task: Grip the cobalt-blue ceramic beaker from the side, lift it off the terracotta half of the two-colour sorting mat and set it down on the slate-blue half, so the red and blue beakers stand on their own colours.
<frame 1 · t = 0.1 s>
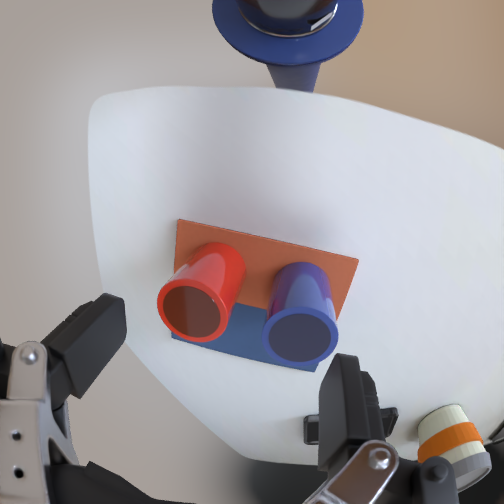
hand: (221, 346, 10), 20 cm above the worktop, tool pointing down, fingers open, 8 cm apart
sorting mat: (253, 304, 32), on the worktop
phone: (349, 425, 38), on the worktop
red beaker: (217, 269, 30), resting on sorting mat
blue beaker: (301, 288, 30), resting on sorting mat
reusable coffee cup: (439, 419, 36), on the worktop
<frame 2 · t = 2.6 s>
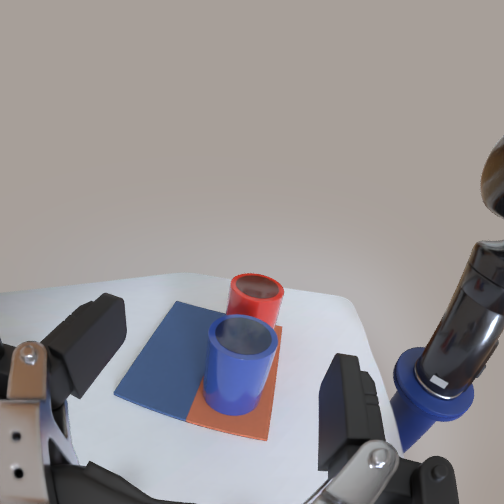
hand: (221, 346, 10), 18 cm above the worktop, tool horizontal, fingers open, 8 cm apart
sorting mat: (210, 360, 32), on the worktop
red beaker: (245, 341, 36), resting on sorting mat
blue beaker: (231, 392, 28), resting on sorting mat
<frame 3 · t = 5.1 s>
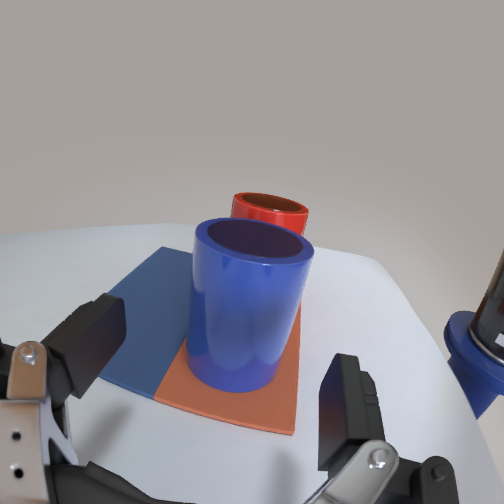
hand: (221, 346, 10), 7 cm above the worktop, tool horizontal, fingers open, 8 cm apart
sorting mat: (201, 312, 23), on the worktop
red beaker: (253, 292, 26), resting on sorting mat
blue beaker: (232, 357, 18), resting on sorting mat
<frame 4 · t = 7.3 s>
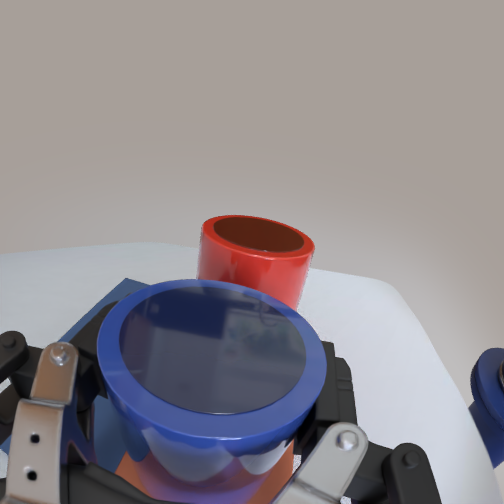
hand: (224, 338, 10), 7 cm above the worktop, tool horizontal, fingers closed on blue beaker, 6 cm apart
sorting mat: (163, 385, 15), on the worktop
red beaker: (236, 349, 19), resting on sorting mat
blue beaker: (199, 462, 11), resting on sorting mat, touching gripper
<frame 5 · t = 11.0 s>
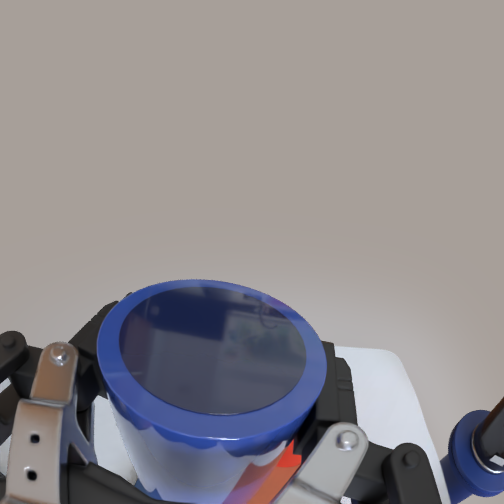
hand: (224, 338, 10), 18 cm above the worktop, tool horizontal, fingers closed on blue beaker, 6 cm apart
sorting mat: (238, 474, 19), on the worktop
red beaker: (283, 441, 23), resting on sorting mat
blue beaker: (199, 462, 11), point 12 cm above the worktop, touching gripper
when the fingers open (7 cm above the worktop, at t = 14.8 s): blue beaker stays where it is, resting on sorting mat.
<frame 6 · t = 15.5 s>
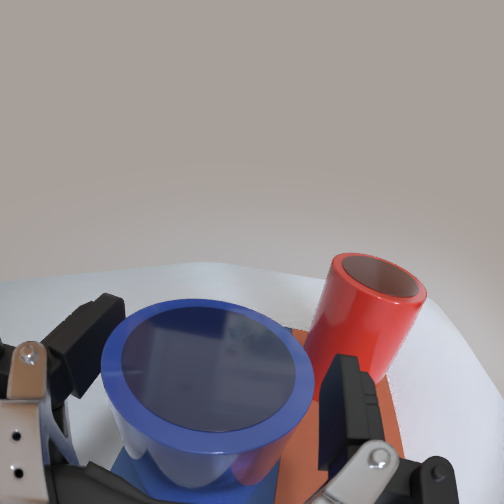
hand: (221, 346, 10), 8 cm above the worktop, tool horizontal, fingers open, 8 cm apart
sorting mat: (282, 421, 15), on the worktop
red beaker: (335, 376, 19), resting on sorting mat
blue beaker: (197, 467, 11), resting on sorting mat
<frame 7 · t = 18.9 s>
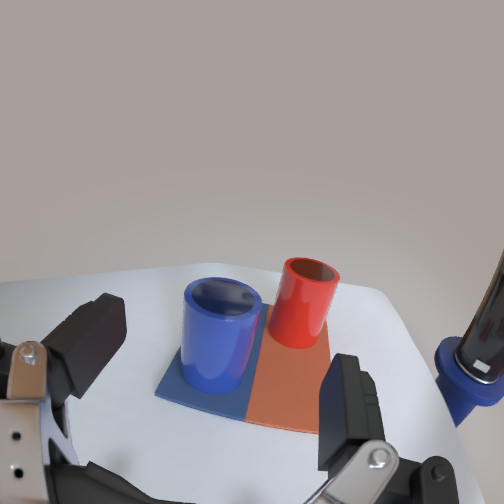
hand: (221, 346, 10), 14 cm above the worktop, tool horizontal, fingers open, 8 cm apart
sorting mat: (259, 352, 30), on the worktop
red beaker: (293, 332, 33), resting on sorting mat
blue beaker: (212, 369, 26), resting on sorting mat
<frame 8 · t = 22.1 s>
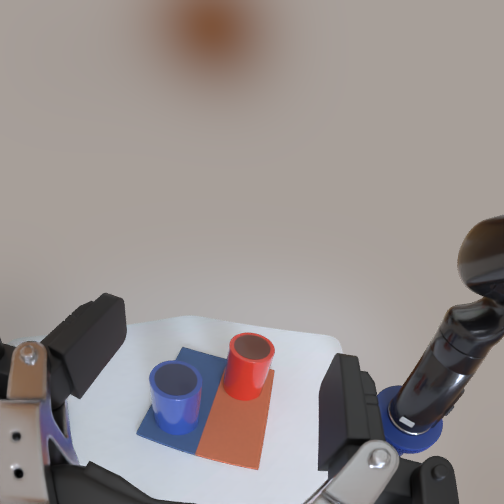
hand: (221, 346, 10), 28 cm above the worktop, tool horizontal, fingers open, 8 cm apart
sorting mat: (213, 402, 37), on the worktop
red beaker: (242, 385, 41), resting on sorting mat
blue beaker: (176, 416, 33), resting on sorting mat
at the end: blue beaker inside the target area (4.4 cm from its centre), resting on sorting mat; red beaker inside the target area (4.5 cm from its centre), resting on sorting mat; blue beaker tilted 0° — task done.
